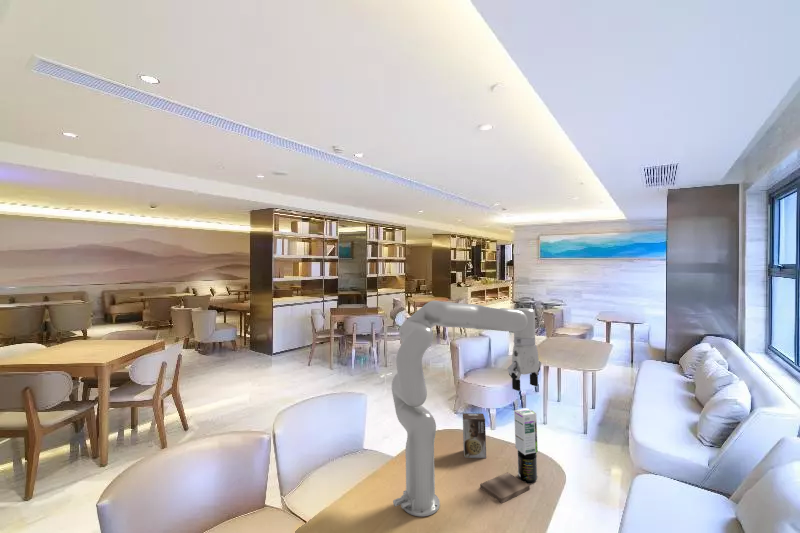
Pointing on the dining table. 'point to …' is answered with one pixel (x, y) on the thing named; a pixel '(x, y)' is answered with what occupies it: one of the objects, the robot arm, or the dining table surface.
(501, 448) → the dining table surface
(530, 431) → the syrup box
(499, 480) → the walnut serving board
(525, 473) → the supplement container
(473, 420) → the coffee box
